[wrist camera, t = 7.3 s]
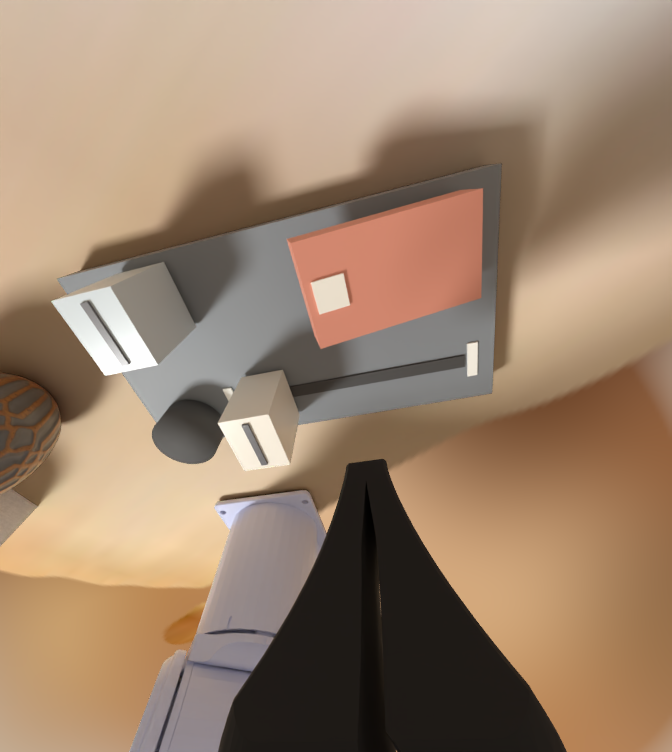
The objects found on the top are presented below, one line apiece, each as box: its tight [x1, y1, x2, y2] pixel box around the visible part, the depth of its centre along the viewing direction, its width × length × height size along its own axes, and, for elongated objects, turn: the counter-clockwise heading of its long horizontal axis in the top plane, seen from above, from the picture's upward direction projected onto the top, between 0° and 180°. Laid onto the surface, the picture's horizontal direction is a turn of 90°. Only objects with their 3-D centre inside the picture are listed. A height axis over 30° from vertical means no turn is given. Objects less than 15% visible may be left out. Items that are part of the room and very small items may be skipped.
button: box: [152, 400, 224, 464], centre depth 18 cm, size 4×4×2 cm
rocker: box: [287, 188, 483, 349], centre depth 12 cm, size 4×7×2 cm, turn 103°
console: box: [57, 163, 502, 437], centre depth 16 cm, size 11×20×2 cm, turn 103°
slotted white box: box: [51, 262, 196, 376], centre depth 13 cm, size 3×2×4 cm
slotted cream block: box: [218, 370, 300, 471], centre depth 16 cm, size 3×2×4 cm
